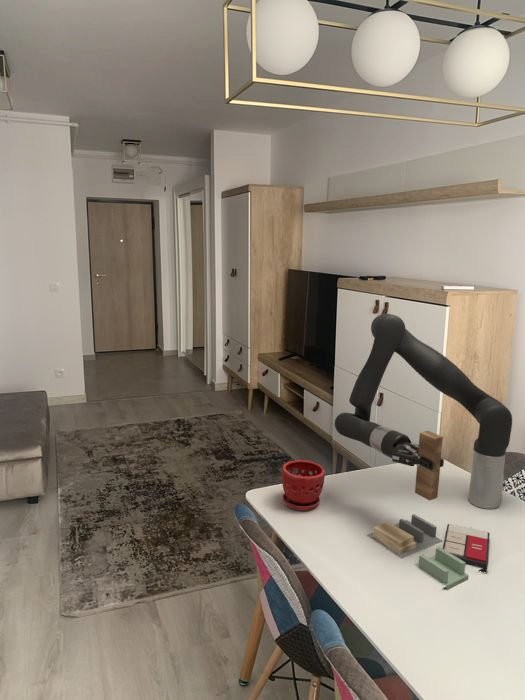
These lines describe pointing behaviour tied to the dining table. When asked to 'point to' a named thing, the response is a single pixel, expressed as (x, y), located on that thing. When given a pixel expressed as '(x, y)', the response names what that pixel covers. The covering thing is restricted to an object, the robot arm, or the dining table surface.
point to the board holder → (444, 568)
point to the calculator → (468, 545)
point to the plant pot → (302, 484)
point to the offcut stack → (394, 538)
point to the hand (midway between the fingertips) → (437, 464)
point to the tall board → (425, 477)
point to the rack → (415, 535)
